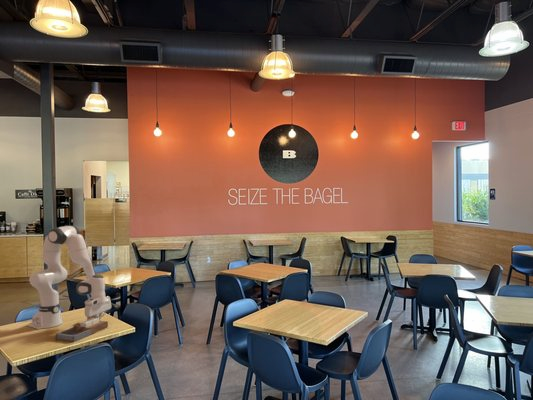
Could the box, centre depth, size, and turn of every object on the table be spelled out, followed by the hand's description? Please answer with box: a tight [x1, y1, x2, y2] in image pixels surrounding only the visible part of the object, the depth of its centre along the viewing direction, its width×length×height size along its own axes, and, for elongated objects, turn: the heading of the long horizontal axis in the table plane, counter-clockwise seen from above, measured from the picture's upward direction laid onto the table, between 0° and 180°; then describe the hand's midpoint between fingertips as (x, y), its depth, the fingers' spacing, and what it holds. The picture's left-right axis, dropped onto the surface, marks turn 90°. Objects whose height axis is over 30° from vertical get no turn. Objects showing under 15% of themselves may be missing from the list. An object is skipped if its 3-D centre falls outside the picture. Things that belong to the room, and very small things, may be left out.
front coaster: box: [79, 319, 93, 327], centre depth 243 cm, size 5×5×2 cm
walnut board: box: [73, 320, 109, 336], centre depth 246 cm, size 15×14×4 cm
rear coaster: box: [89, 318, 99, 324], centre depth 248 cm, size 5×5×2 cm
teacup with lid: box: [86, 311, 106, 321], centre depth 264 cm, size 12×9×12 cm
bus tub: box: [55, 326, 91, 343], centre depth 233 cm, size 15×13×4 cm
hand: (98, 319), depth 252 cm, fingers closed
